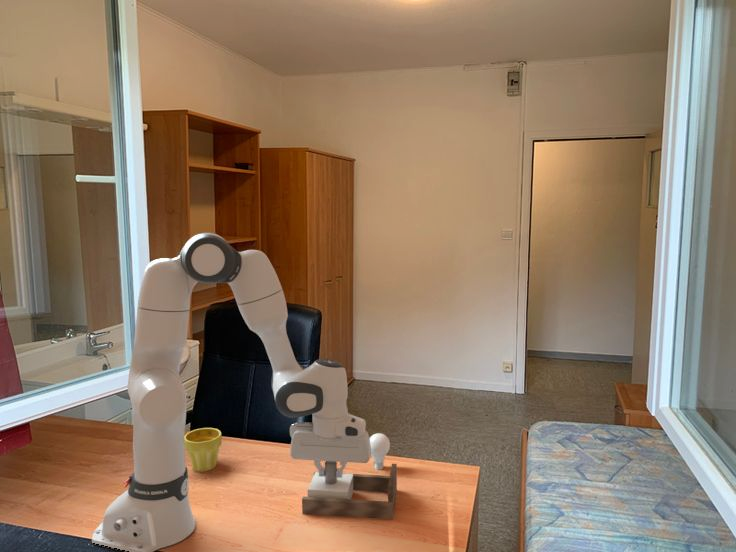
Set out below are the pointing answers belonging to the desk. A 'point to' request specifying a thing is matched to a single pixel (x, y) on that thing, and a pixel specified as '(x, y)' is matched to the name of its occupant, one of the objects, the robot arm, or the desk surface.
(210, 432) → the plant pot
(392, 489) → the bay
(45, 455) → the desk surface
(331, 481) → the white box with knob
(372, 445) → the lightbulb
